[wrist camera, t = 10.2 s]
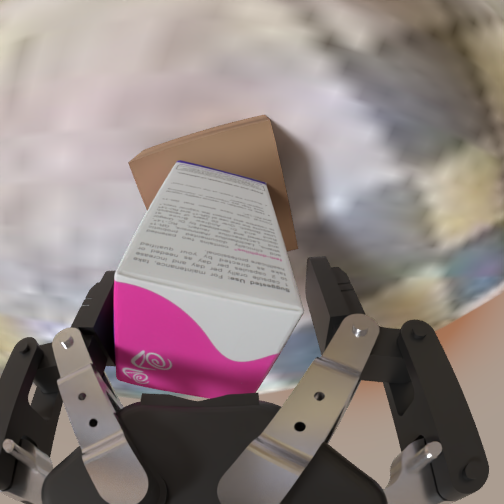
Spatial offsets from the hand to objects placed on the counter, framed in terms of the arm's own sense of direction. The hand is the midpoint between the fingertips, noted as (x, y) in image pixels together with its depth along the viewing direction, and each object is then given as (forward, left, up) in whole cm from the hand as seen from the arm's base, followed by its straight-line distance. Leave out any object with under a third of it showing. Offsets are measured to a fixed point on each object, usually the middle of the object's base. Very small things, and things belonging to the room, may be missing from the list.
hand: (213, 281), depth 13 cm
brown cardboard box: (0, 0, -12) cm, 12 cm away
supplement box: (0, -1, -8) cm, 8 cm away
